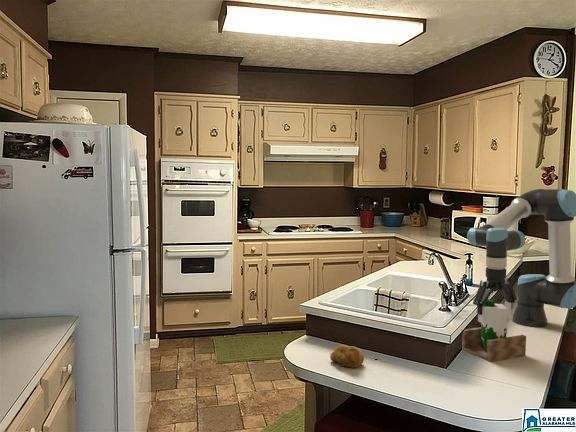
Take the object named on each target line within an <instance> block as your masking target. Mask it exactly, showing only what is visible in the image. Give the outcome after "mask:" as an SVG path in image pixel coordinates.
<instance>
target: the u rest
mask: <svg viewBox="0 0 576 432" xmlns="http://www.w3.org/2000/svg"><path fill="white" fill-rule="evenodd" d="M481 327H482V326H479V327H471V328H464V329H465V330H464V331H463V335H462V349H461V350H463V349H464V350H463V351H465V350H466V351H465V352H468V353H470V354H472V355H474V356H476V357H478V358H481V359H483V360H485V361H487V362H491V363H492V362H496V361H503V359H504V360H508V359H514V358H515V359H516V358H520V357H525V356H526V349H527V348H526V346H527V335H523V334H519V335H512V336H511V335H510V336H506V337H505V338H498V339H492V340H487V352H485V351H484V349H483V347H482V341H481Z"/></svg>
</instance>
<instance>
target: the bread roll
mask: <svg viewBox="0 0 576 432" xmlns="http://www.w3.org/2000/svg"><path fill="white" fill-rule="evenodd" d="M364 355H365V354H364V353H363V350H361V349H360V348H358V347H357V346H348V345H347V344H339V345H338V346H337V345H336V347H335V348H334V350H333V352H332V351H331V353H330V355H329V358H330V360H331V362H333V363H335V364H337V365H340V366H342V367H344V368H349V369H356V368H359V367H360V366H362V364H363V363H364V360H365V357H364Z"/></svg>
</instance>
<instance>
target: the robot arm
mask: <svg viewBox="0 0 576 432" xmlns="http://www.w3.org/2000/svg"><path fill="white" fill-rule="evenodd" d="M531 215H543V218H544V219H543V220H544V221H545V222H546V223H547V225H548V227H547V230H548V262H549V263H548V265H549V268H548V269H549V274H548V275H547V276H546V275H545V274H539V273H537V274H536V273H534V274H532V273H531V274H529V273H528V274H522V275H520V276H519V277H518V278H517V279H518V280H517V284H516V285H517V295H516V293H515V290H514V287H513V284H512V279H511V278H509V277H507V267H508V266H507V265H508V264H507V262H508V256H507V255H508V251H509V252H510V251H513V250H518V249H521V248H523V247H524V246H525V244H526V236H525V234H524V233H523V232H522V231H520V230H515V229H514V230H513V229H512V230H509V229H510V228H511V227H513V226H514V225H515V224H516V223H518V222H519V221H520V220H521V219H522V218H528V217H529V216H531ZM575 217H576V192H574V191H573V190H570V189H564V188H561V189H559V188H558V189H557V188H552V189H550V188H545V189H544V188H537V189H532V190H529V191H527V192H525V193H522V194H520V195H519V196H517V197H515V198H514V199H513V200H512V201H511V203H510V204H509V206H507V207H505V209H503V210H501V211H500V213H498V214H497V215H496V216H494V217H492V218H491V219H490V220H488V221H487V222H486V223H484V224H483V225H482V226H480V227H477V226H476V227H471V228H470V229H469V230H468V231H467V237H466V238H467V242H468V243H469V244H470V245H472V246H477V247H485V249H486V252H485V254H486V255H485V256H486V257H485V266H486V267H485V277H486V280H480V281H479V285H478V286H479V287H478V289H477V290H476V291H477V292H476V294H475V297H474V299H473V302H472V305H474V306H477V307H476V313H477V322H479V323H481V324H482V323H485V307H484V304H485V302H486V301H487V299H490V298H489V297H490V296H491V294H493V293H495V292H500V293H501V295H502V296H503V298H504V299H505V301H504V306H505V307H506V308H507V320H512V322H513V323H515V324H519V325H522V326H525V327H526V326H527V327H537V328H538V327H545V326H547V325H548V318H547V314H546V311H545V310H546V309H545V305H548V306H552V307H557V308H561V309H568V310H569V309H573V308H575V307H576V278H575V277H574V276H573V275H572V260H571V259H572V258H571V254H572V253H571V248H572V247H571V223H572V222H573V221H574V220H575ZM516 301H517V302H516ZM515 302H516V306H515V308H514V312H513V314H512V310H513V304H515Z"/></svg>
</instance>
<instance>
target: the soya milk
mask: <svg viewBox="0 0 576 432" xmlns="http://www.w3.org/2000/svg"><path fill="white" fill-rule="evenodd" d="M484 307H485V323H481V326H480V327H481V341H482V347H483V349H484V351H485V352H487V340H492V339H498V338H505V337H507V330H508V329H507V327H508V318H507V308H506V307H505V304H504V303H496V301H495V300H494V299H491V298H488V299H487V301H486V302H485V304H484Z"/></svg>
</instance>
